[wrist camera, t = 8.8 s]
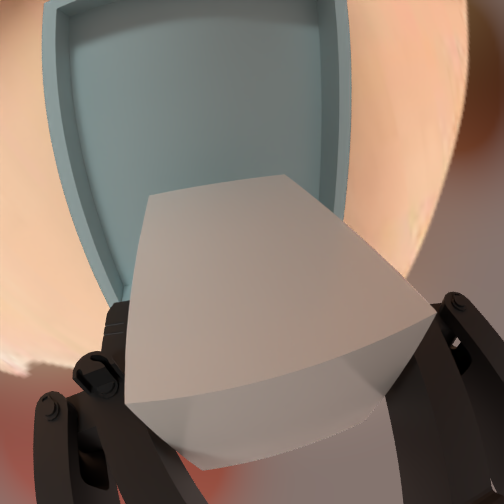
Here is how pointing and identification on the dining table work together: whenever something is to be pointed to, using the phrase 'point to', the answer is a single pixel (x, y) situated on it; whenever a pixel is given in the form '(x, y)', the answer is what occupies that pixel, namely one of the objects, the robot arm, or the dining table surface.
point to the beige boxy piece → (260, 322)
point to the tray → (190, 107)
